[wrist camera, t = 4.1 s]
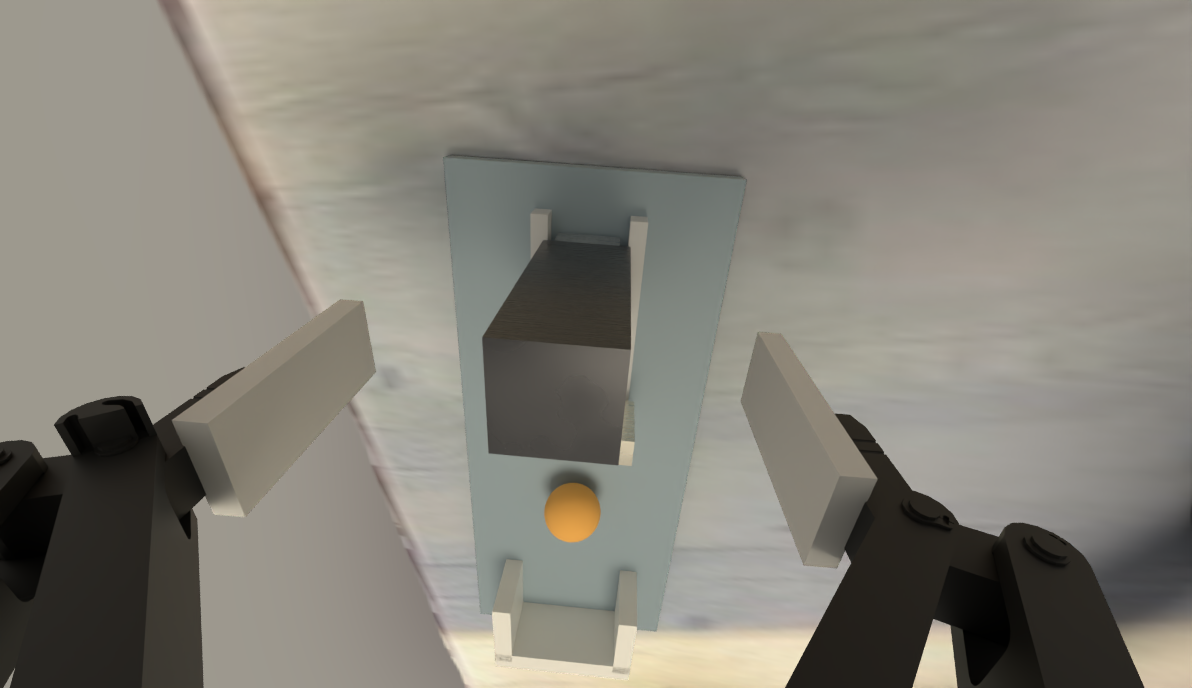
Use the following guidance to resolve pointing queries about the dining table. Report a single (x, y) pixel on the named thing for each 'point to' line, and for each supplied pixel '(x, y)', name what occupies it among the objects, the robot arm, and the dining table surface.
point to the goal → (564, 631)
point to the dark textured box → (563, 356)
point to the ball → (572, 512)
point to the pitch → (656, 371)
